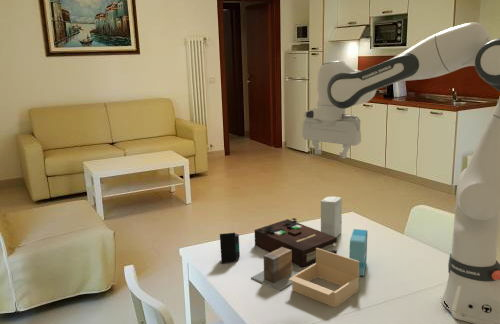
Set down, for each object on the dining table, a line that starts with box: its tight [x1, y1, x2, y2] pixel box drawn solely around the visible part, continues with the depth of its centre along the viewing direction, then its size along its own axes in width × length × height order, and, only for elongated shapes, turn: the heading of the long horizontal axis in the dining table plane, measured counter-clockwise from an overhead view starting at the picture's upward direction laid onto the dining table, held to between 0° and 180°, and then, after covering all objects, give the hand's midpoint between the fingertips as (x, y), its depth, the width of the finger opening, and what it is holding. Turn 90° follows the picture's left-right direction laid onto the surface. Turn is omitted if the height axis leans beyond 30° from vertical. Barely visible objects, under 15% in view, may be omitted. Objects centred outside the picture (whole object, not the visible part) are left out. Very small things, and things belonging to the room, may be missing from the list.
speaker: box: [219, 232, 241, 265], centre depth 161 cm, size 8×6×10 cm
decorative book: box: [254, 217, 338, 269], centre depth 167 cm, size 19×8×30 cm
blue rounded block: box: [348, 228, 368, 277], centre depth 151 cm, size 12×4×12 cm, turn 162°
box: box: [263, 247, 293, 283], centre depth 146 cm, size 4×9×8 cm, turn 137°
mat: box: [250, 270, 298, 292], centre depth 147 cm, size 12×12×1 cm
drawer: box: [289, 248, 360, 308], centre depth 137 cm, size 15×15×10 cm
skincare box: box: [320, 195, 343, 238], centre depth 179 cm, size 8×6×15 cm
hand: (330, 156), depth 149 cm, fingers open, 8 cm apart
